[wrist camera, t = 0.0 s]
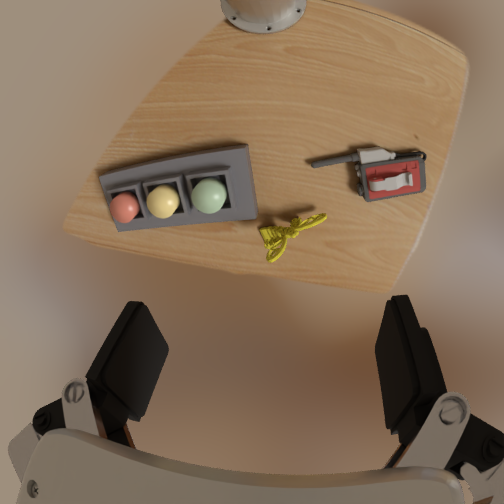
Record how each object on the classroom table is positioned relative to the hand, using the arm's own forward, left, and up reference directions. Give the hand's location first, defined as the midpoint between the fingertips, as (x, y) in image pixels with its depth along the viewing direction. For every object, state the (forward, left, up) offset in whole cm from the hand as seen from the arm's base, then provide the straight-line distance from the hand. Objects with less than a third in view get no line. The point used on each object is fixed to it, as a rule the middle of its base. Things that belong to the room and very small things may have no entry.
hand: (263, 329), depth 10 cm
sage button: (+6, -12, -32) cm, 35 cm away
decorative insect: (+15, 0, -37) cm, 40 cm away
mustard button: (+6, -20, -32) cm, 38 cm away
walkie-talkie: (+6, +14, -38) cm, 40 cm away
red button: (+6, -28, -32) cm, 43 cm away
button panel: (+6, -20, -37) cm, 42 cm away
